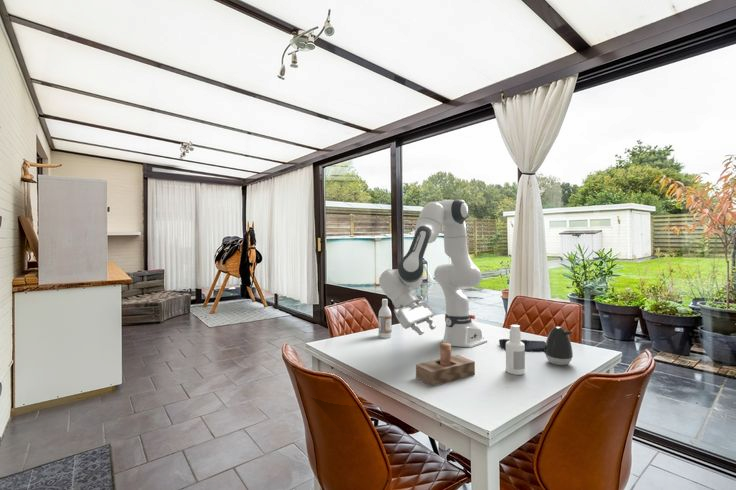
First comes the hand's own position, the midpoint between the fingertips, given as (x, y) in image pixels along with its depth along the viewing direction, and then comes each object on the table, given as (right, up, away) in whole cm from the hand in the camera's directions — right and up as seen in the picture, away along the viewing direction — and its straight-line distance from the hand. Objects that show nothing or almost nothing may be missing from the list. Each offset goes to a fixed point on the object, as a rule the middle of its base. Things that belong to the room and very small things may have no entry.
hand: (428, 331), depth 137 cm
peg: (+6, -16, -5) cm, 17 cm away
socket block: (+6, -16, -5) cm, 17 cm away
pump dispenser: (+55, -15, +8) cm, 58 cm away
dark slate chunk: (+51, -16, +30) cm, 61 cm away
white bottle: (+34, -16, -1) cm, 37 cm away
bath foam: (-14, -15, +50) cm, 54 cm away
